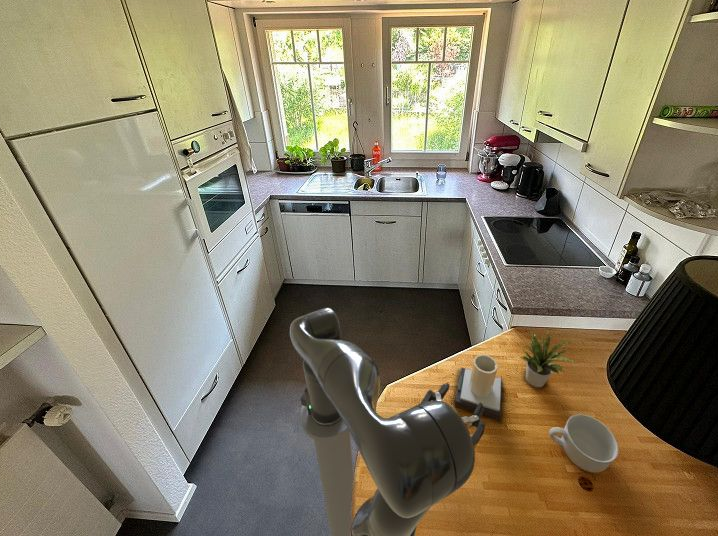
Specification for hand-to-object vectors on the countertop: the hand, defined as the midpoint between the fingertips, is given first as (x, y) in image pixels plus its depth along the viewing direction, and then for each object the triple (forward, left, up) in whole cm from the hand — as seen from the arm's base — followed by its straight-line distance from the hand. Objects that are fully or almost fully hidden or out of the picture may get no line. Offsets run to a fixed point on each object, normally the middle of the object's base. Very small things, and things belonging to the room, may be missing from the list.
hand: (463, 395), depth 78 cm
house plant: (+21, +24, -15) cm, 35 cm away
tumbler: (+4, +13, -11) cm, 17 cm away
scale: (+4, +13, -15) cm, 20 cm away
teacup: (+28, +5, -15) cm, 32 cm away
